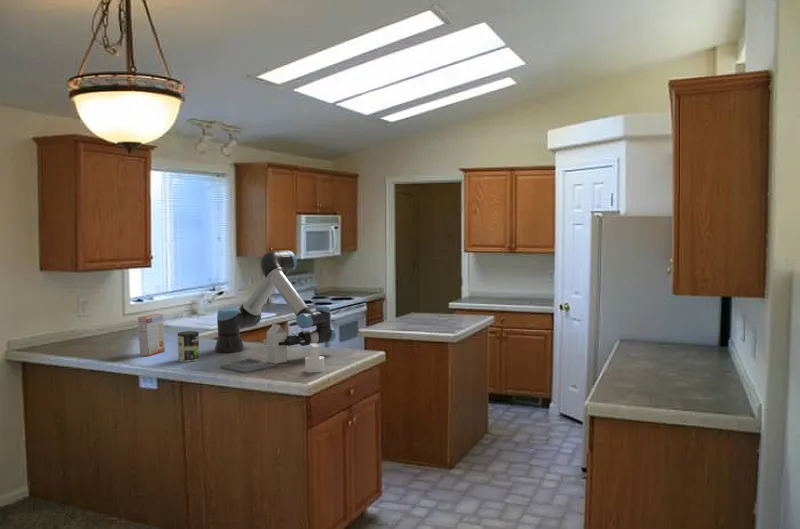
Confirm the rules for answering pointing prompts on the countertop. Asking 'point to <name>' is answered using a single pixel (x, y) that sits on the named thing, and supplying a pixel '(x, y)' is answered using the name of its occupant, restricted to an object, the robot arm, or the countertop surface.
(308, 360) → the base with upright slab
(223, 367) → the board
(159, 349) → the cracker box
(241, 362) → the dock collar
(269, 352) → the milk carton
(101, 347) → the countertop surface
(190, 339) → the coffee can
